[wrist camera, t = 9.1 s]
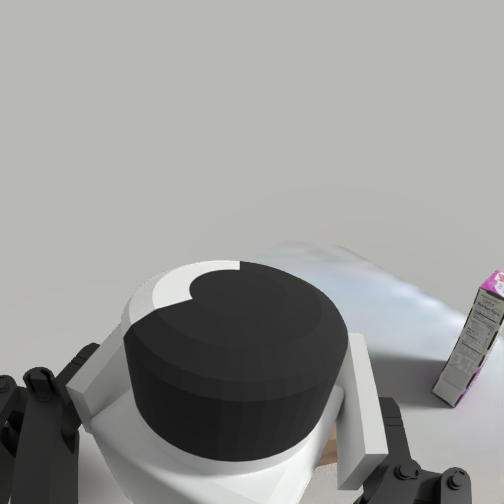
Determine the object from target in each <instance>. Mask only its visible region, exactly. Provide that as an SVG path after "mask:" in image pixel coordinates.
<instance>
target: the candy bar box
mask: <svg viewBox="0 0 504 504" xmlns="http://www.w3.org/2000/svg"><path fill="white" fill-rule="evenodd" d="M503 326H504V273H503V272H501V271H498V270H497V271H495V273H493V275H492V276H490V277H489V278H488V279H487V280H486V281H485V282H484V283H483V284H482V285H481V286H480V287H479V290H478V293H477V296H476V298H475V301H474V303H473V306H472V308H471V311H470V313H469V316H468V318H467V320H466V323H465V325H464V327H463V330H462V332H461V334H460V336H459V339H458V341H457V343H456V345H455V347H454V349H453V351H452V353H451V355H450V357H449V359H448V361H447V363H446V365H445V367H444V369H443V370H442V372H441V374H440V376H439V378H438V380H437V381H436V383H435V385H434V387H433V388H432V390H431V392H432V393H433V394H435V395H436V396H437V397H439V398H441V399H442V400H444V401H445V402H447V403H448V404H449V405H451V406H452V407H454V408H455V407H456V406H457V404H458V403H459V402H460V400H461V399H462V398H463V396H464V395H465V394H466V392H467V391H468V389H469V388H470V387H471V385H472V384H473V382H474V381H475V379H476V378H477V376H478V375H479V373H480V371H481V369H482V367H483V366H484V364H485V362H486V360H487V358H488V356H489V355H490V353H491V351H492V349H493V347H494V345H495V343H496V341H497V339H498V337H499V335H500V333H501V330H502V329H503Z"/></svg>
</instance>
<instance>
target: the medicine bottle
mask: <svg viewBox="0 0 504 504" xmlns="http://www.w3.org/2000/svg"><path fill="white" fill-rule="evenodd" d="M121 331H122V338H123V344H124V350H125V356H126V362H127V367H128V372H129V378H130V383H131V387H132V388H131V389H129V390H128V391H127V392H126V393H124V394H123V395H122V396H120V397H119V398H118V399H116V400H115V401H114V402H113V403H111V404H110V405H109V406H107V407H106V408H105V409H103V410H102V411H101V412H99V413H98V414H97V415H96V416H94V417H93V418H92V419H91V420H90V430H91V432H92V434H93V437H94V439H95V441H96V443H97V445H98V447H99V449H100V451H101V453H102V455H103V457H104V459H105V461H106V462H107V464H108V466H109V468H110V470H111V472H112V473H113V475H114V477H115V479H116V480H117V482H118V484H119V486H120V487H121V489H122V491H123V492H124V494H125V495H126V497H127V498H128V499H129V500H131V501H132V502H133V503H135V504H298V503H299V501H300V499H301V497H302V495H303V493H304V491H305V489H306V487H307V485H308V483H309V481H310V479H311V477H312V475H313V472H314V470H315V468H316V466H317V464H318V461H319V459H320V457H321V455H322V452H323V450H324V448H325V445H326V443H327V441H328V438H329V436H330V433H331V431H332V428H333V426H334V423H335V421H336V418H337V415H338V413H339V410H340V407H341V405H342V402H343V399H344V390H343V389H342V388H341V387H339V386H336V385H334V384H335V382H336V379H337V376H338V374H339V371H340V368H341V366H342V363H343V360H344V357H345V355H346V351H347V348H348V332H347V327H346V325H345V323H344V320H343V318H342V316H341V315H340V313H339V311H338V309H337V308H336V306H335V305H334V303H333V302H332V301H331V300H330V299H329V298H328V297H327V296H326V295H325V294H324V293H323V292H322V291H320V290H319V289H317V288H316V287H314V286H313V285H311V284H310V283H308V282H306V281H304V280H302V279H300V278H298V277H295V276H293V275H291V274H289V273H286V272H284V271H281V270H279V269H276V268H272V267H269V266H265V265H261V264H256V263H250V262H243V261H227V260H226V261H225V260H219V261H206V262H199V263H193V264H189V265H184V266H181V267H176V268H173V269H170V270H167V271H164V272H162V273H160V274H158V275H155V276H154V277H152V278H151V279H149V280H147V281H146V282H145V283H144V284H143V285H141V286H140V288H139V289H138V290H137V291H136V292H135V293H134V295H133V296H132V297H131V298H130V299H129V301H128V302H127V304H126V306H125V308H124V310H123V314H122V317H121Z"/></svg>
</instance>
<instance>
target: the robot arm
mask: <svg viewBox="0 0 504 504" xmlns="http://www.w3.org/2000/svg"><path fill="white" fill-rule="evenodd" d="M23 380H24V382H25V384H26V387H27V388H25V387H20V386H17V384H16V382H15V381H14V379H13V378H12V377H11V376H9V375H0V504H8V501H9V499H10V496H11V502H10V504H78V454H79V437H80V436H79V431H78V428H79V427H80V425H81V424H82V425H83V427H84V429H85V431H86V432H88V433H90V434H92V432H91V430H90V420H91V419H92V418H93V417H94V416H96V415H97V414H98V413H99V412H101V411H102V410H103V409H105V408H106V407H107V406H109V405H110V404H111V403H113V402H114V401H115V400H116V399H118V398H119V397H120V396H122V395H123V394H124V393H126V392H127V391H128V390H129V389H131V388H132V387H131V383H130V378H129V372H128V367H127V362H126V356H125V350H124V344H123V338H122V331H121V323H120V324H119V325H118V326H117V327H116V329H115V330H114V331H113V332H112V333H111V334H110V335H109V336H108V338H107V339H106V340H105V341H104V342H103V343H102V344H101V345H99V344H96V343H91V344H89V345H87V346H85V347H83V349H81V350H80V352H79V353H78V354H77V355H76V357H74V358H73V359H72V360H71V363H70V362H69V363H68V365H67V366H66V367H65V368H64V369H63V370H62V371H61V372H60V373H59V375H58V376H57V377H56V378H55V377H54V375H53V373H52V371H50V370H49V369H47V368H44V367H35V368H32V369H30V370H29V371H27V372H26V373H25V374H24V376H23ZM334 385H336V386H339V387H341V388H342V389H343V390H344V399H343V402H342V405H341V407H340V410H339V413H338V415H337V418H336V439H337V477H338V490H358V489H359V488H360V487H361V486H362V484H363V490H364V493H363V494H362V495H361V496H360V497H359V498H358V499H357V500H356V501H355V502H354V503H353V504H472V496H471V481H470V477H469V475H468V474H467V472H466V471H464V470H463V469H461V468H457V467H453V468H449V469H448V470H446V471H445V472H444V473H443V474H440V473H435V472H430V471H426V470H423V469H421V467H420V465H419V464H418V463H417V462H416V461H415V460H413V459H411V456H410V452H409V447H408V442H407V438H406V434H405V429H404V427H403V421H402V419H401V413H400V409H399V406H398V405H397V404H396V402H395V401H394V400H393V398H384V397H378V395H377V390H376V386H375V381H374V377H373V372H372V368H371V364H370V359H369V355H368V351H367V347H366V343H365V339H364V335H363V334H359V333H351V332H348V348H347V351H346V355H345V357H344V360H343V363H342V366H341V368H340V371H339V374H338V376H337V379H336V382H335V384H334ZM6 421H7V423H6V424H5V422H6ZM4 424H5V425H4ZM92 435H93V434H92Z"/></svg>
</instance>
